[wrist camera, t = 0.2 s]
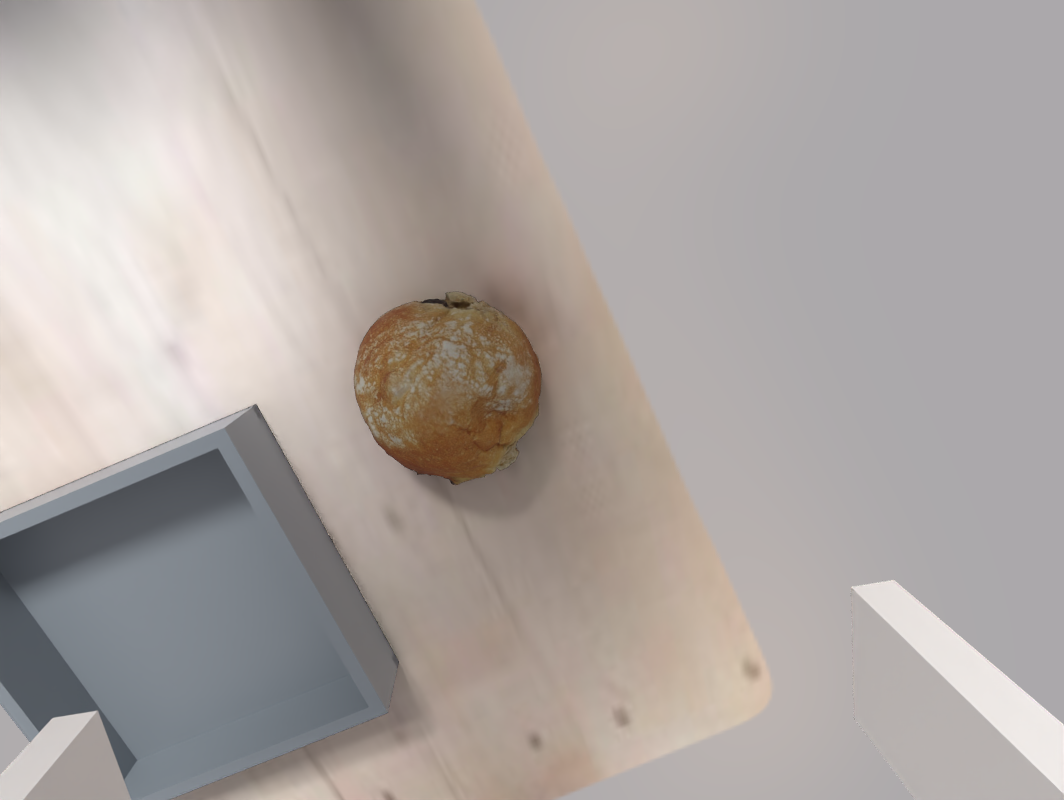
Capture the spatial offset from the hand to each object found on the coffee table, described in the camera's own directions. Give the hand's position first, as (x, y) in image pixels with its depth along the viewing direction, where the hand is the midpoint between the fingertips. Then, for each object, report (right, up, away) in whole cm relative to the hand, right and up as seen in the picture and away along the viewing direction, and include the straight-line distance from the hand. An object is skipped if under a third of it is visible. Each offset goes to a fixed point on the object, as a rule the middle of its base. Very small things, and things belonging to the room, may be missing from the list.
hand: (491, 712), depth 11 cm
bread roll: (-4, +6, +26) cm, 27 cm away
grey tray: (-20, -7, +28) cm, 35 cm away
